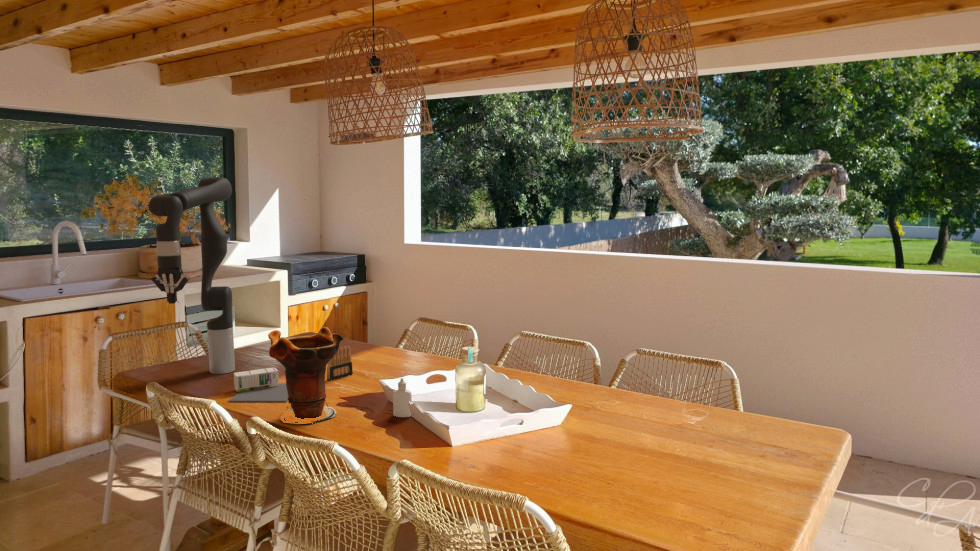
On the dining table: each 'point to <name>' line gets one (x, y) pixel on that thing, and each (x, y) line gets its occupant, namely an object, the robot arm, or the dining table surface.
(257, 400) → the mat
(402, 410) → the eye dropper bottle
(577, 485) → the dining table surface
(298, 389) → the decorative vase
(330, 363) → the ammunition clip
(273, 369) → the syrup box
